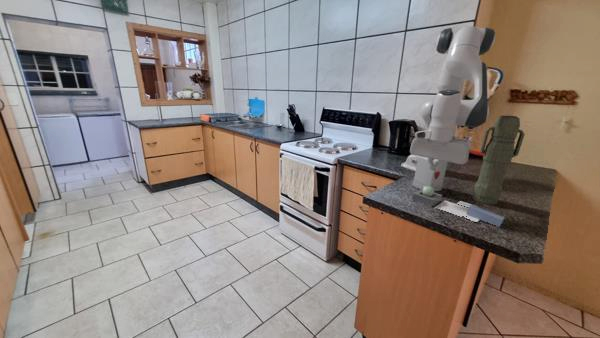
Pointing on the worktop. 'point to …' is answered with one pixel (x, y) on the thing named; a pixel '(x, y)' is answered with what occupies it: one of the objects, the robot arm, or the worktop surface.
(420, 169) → the supplement box
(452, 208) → the white flat plate
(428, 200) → the button housing
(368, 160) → the worktop surface
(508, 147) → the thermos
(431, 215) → the worktop surface
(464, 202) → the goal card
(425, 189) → the button
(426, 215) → the worktop surface
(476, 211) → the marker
